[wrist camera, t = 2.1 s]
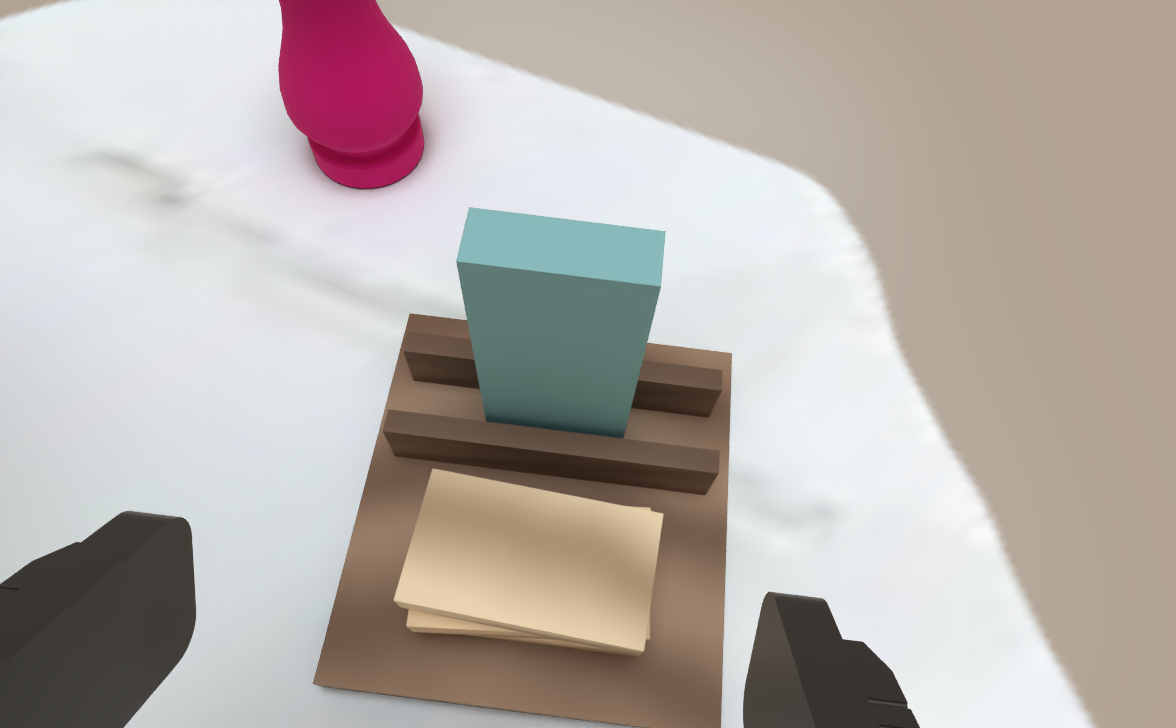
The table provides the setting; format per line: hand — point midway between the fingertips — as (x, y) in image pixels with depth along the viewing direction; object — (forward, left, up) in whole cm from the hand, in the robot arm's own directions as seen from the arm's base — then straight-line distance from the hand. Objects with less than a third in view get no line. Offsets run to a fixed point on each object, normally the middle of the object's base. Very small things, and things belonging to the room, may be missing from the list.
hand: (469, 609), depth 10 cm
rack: (-3, +8, -23) cm, 24 cm away
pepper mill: (-22, +22, -23) cm, 39 cm away
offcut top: (-2, +4, -18) cm, 19 cm away
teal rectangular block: (-4, +11, -21) cm, 24 cm away
